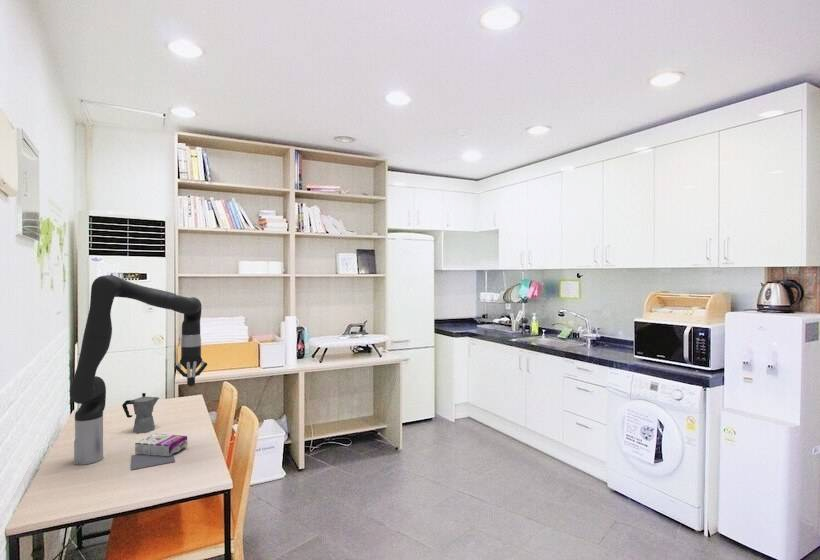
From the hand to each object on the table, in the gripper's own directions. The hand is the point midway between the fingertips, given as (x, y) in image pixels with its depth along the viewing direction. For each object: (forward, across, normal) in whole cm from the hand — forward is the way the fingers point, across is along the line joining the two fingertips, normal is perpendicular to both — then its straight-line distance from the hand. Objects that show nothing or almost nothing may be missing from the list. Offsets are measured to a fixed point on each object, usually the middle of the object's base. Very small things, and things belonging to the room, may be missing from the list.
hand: (191, 386), depth 189 cm
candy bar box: (+25, -4, +2) cm, 26 cm away
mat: (+28, -14, 0) cm, 31 cm away
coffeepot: (+28, -18, +42) cm, 54 cm away
